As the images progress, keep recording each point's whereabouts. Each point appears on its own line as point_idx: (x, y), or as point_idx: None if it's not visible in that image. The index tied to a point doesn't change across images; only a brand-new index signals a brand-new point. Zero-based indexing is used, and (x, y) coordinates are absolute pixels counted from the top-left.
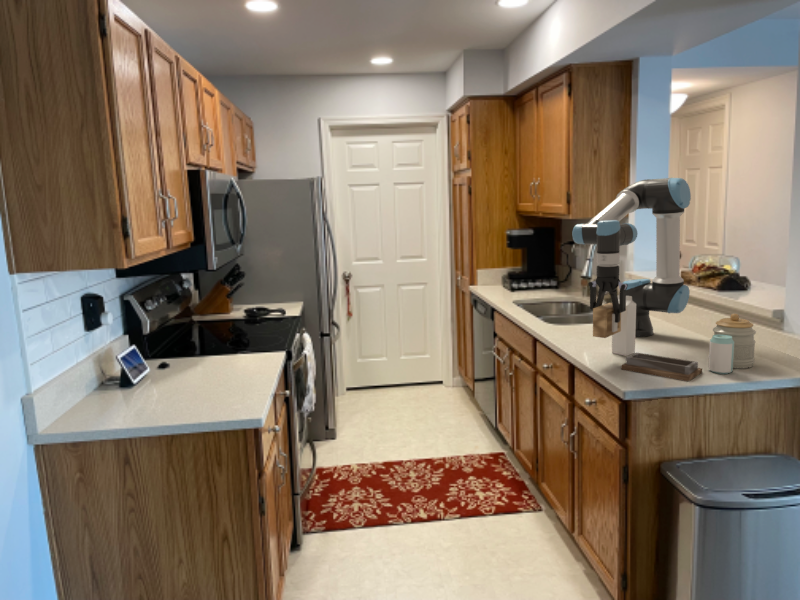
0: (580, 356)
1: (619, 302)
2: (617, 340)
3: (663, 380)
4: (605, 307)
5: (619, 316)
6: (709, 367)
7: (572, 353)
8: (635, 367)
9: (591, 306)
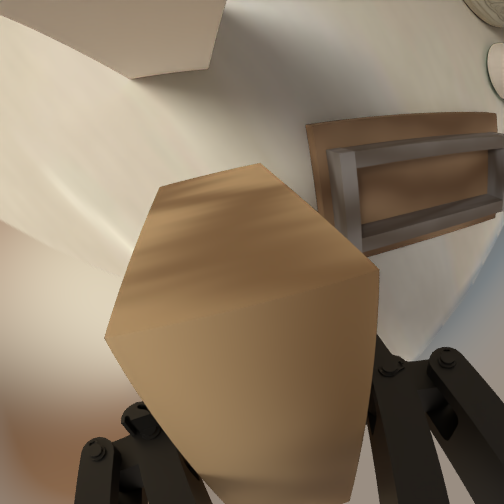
0: (90, 239)
1: (457, 470)
2: (149, 62)
3: (449, 254)
4: (307, 489)
5: (379, 346)
6: (499, 89)
7: (39, 230)
8: (377, 253)
9: (133, 495)
